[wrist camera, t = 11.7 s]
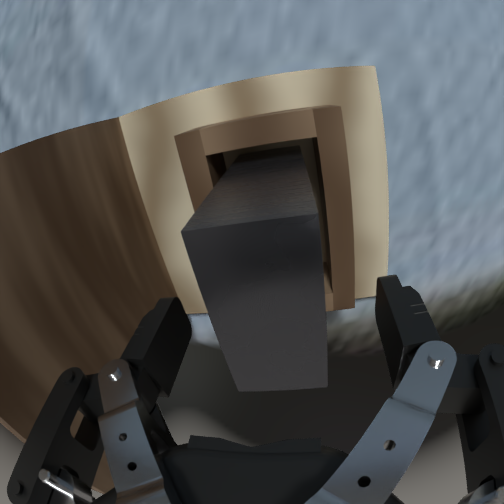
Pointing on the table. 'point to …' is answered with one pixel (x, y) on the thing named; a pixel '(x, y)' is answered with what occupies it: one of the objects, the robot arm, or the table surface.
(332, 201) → the post socket
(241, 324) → the dark grey block
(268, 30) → the table surface
